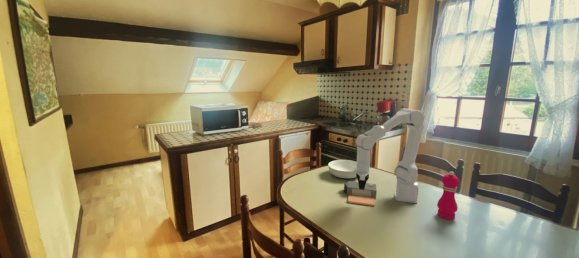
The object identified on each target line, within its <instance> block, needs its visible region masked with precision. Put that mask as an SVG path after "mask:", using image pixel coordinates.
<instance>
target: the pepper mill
mask: <svg viewBox="0 0 579 258" xmlns="http://www.w3.org/2000/svg"><path fill="white" fill-rule="evenodd" d="M441 182H442V189H443V191H442V195H441V197H439V199H438V201H437V204H436V206H437V216H438V217H440V218H442V219H444V220H450V221H451V220H454V219H455V218H456V212H457V211H458V204H457V201H456V197H455V195H456V192H457V189H458V186H459V185H460V179H459V178H458V176H456V175H455V172H454V171H449V172H448V173H447V174H445V175H443V176H442V178H441Z"/></svg>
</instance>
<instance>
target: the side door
mask: <svg viewBox="0 0 579 258" xmlns="http://www.w3.org/2000/svg"><path fill="white" fill-rule="evenodd" d="M347 203H350V204H356V205H362V206H363V205H364V206H372V207H375V205H376V204H375V199H374V198H370V197H362V196H355V195H347Z"/></svg>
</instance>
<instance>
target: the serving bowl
mask: <svg viewBox="0 0 579 258" xmlns="http://www.w3.org/2000/svg"><path fill="white" fill-rule="evenodd" d="M327 166H328V170H329V172H330V173H331V174H332V175H333V176H334V177H338V178H340V179H354V178H355V179H356V173H357V172H354V169H356V166H357V161H354V160H351V159H349V160H348V159H336V160H332V161H330V162H328V164H327Z"/></svg>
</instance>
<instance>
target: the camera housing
mask: <svg viewBox="0 0 579 258" xmlns="http://www.w3.org/2000/svg"><path fill="white" fill-rule="evenodd" d="M377 191H378V190H377V184H376V183H370V182H366V185H365V188H364V190H360V189H359V184H358V181H352V180H348V182H347V183H346V182H345V183H344V185H343V193H346V196H349V195H355V196H362V197H370V198H374V200H376V199H377Z"/></svg>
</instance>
